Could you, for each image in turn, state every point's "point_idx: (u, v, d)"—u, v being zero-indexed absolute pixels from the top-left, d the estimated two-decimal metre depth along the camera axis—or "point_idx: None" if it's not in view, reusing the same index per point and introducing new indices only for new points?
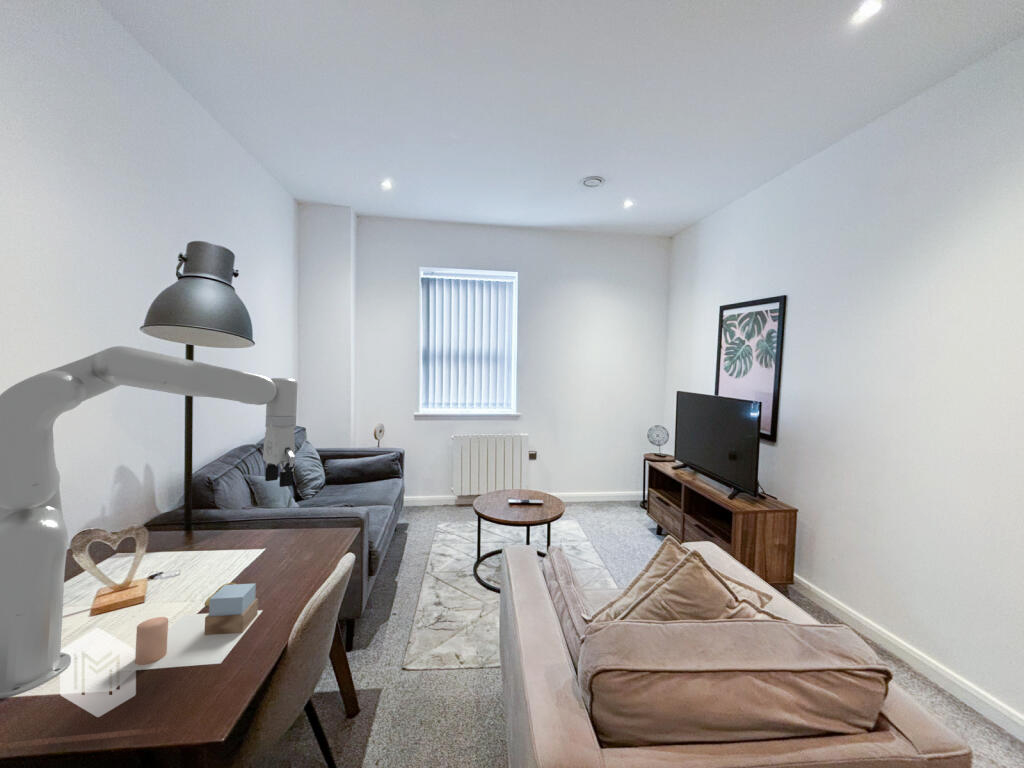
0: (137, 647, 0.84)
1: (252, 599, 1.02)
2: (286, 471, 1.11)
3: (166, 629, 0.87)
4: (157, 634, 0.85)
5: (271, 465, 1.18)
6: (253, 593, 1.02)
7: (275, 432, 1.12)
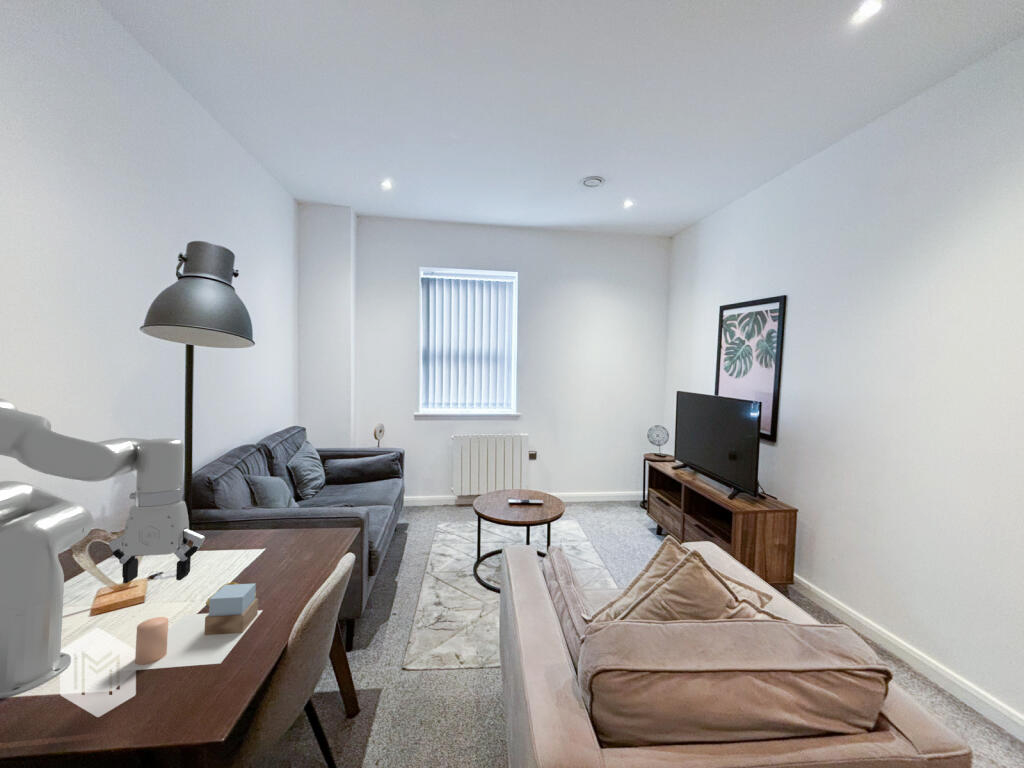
0: (137, 647, 0.84)
1: (252, 599, 1.02)
2: (188, 558, 0.88)
3: (166, 629, 0.87)
4: (157, 634, 0.85)
5: (131, 559, 0.86)
6: (253, 593, 1.02)
7: (167, 512, 0.85)
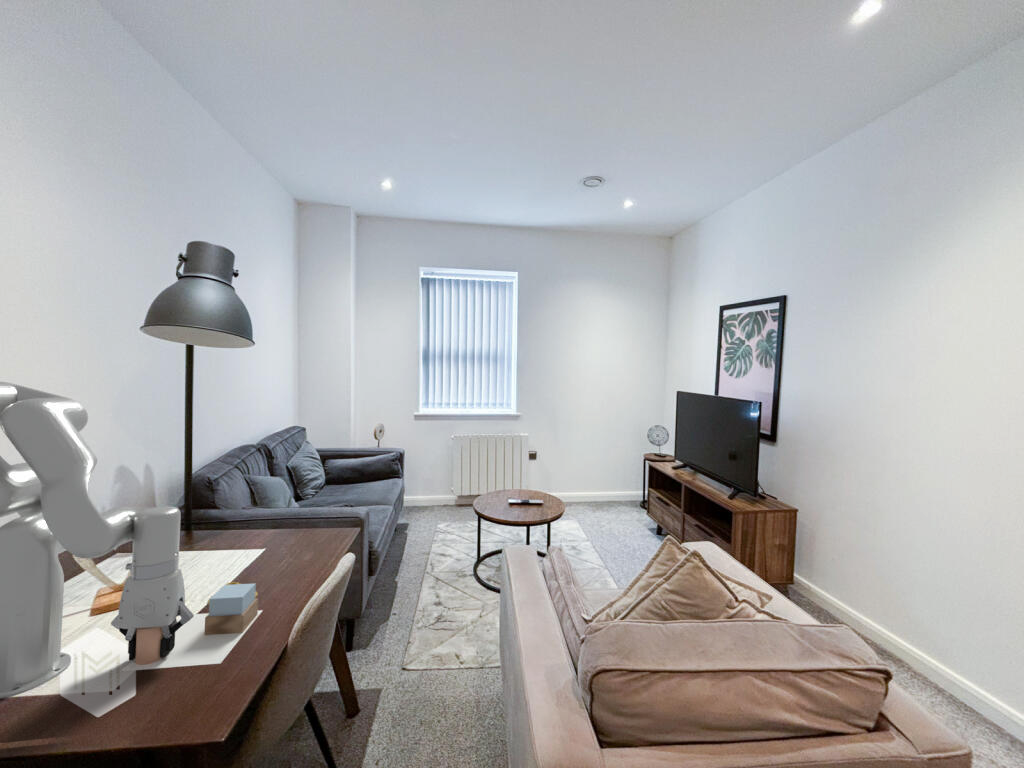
0: (137, 647, 0.84)
1: (252, 599, 1.02)
2: (172, 634, 0.87)
3: None
4: (157, 634, 0.85)
5: None
6: (253, 593, 1.02)
7: (163, 584, 0.85)
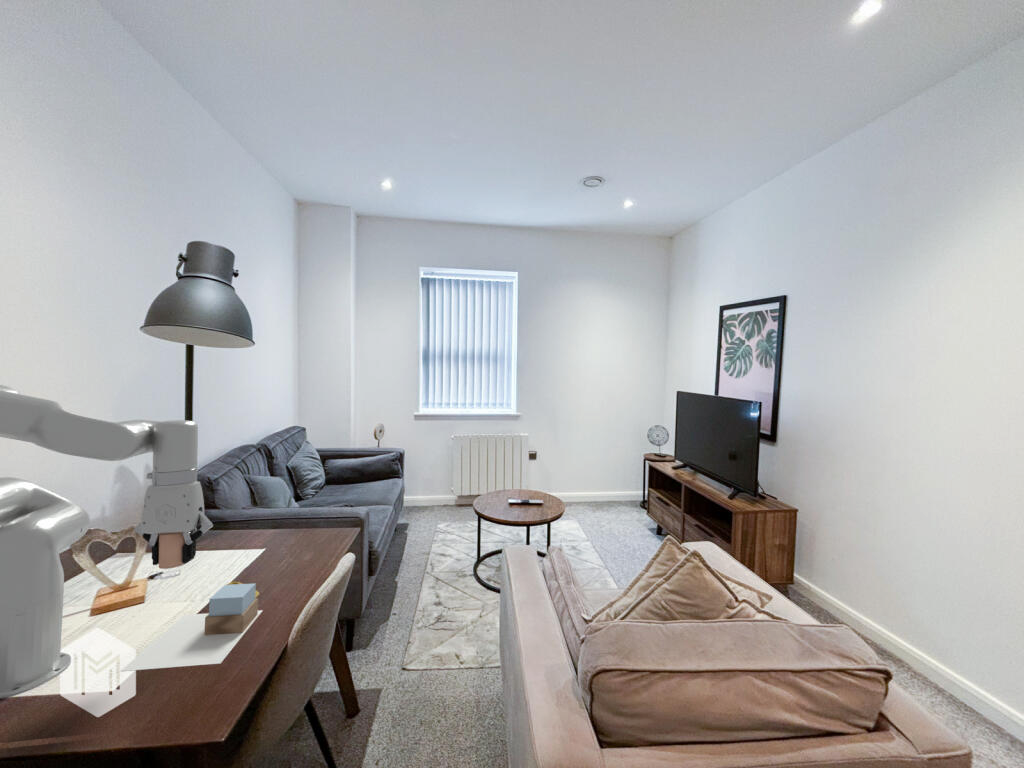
0: (160, 552, 0.87)
1: (252, 599, 1.02)
2: (193, 542, 0.89)
3: None
4: (178, 540, 0.88)
5: None
6: (253, 593, 1.02)
7: (183, 491, 0.87)
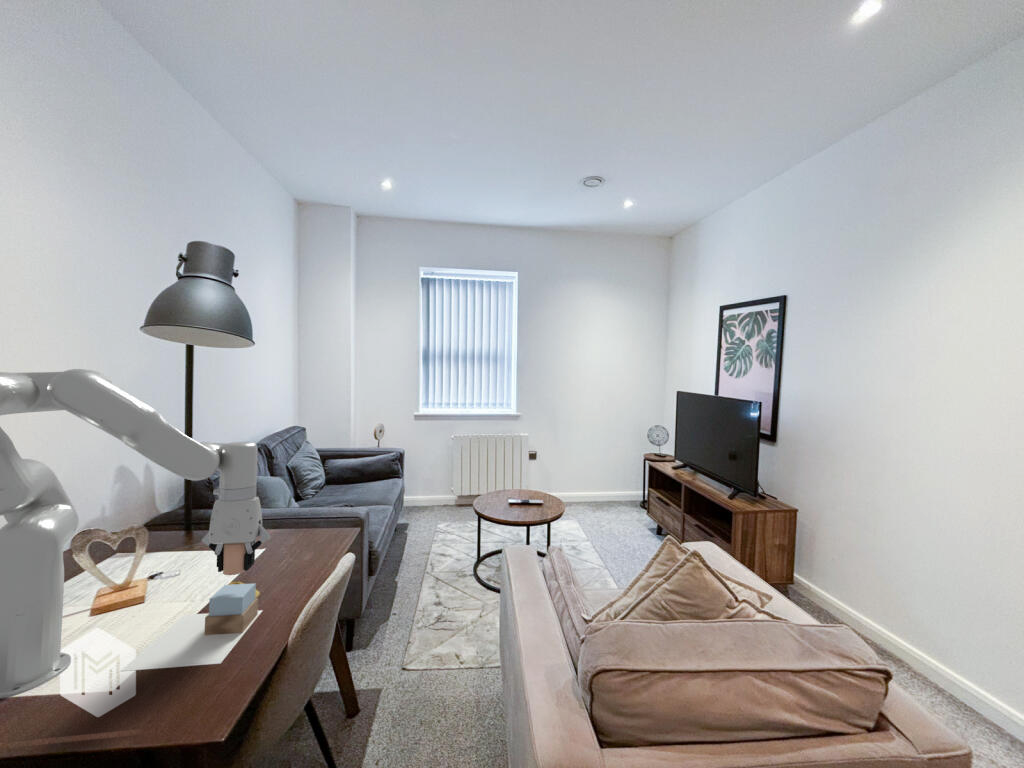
0: (225, 560, 0.97)
1: (252, 599, 1.02)
2: (253, 551, 1.00)
3: None
4: (241, 550, 0.98)
5: (223, 551, 0.99)
6: (253, 593, 1.02)
7: (246, 506, 0.98)
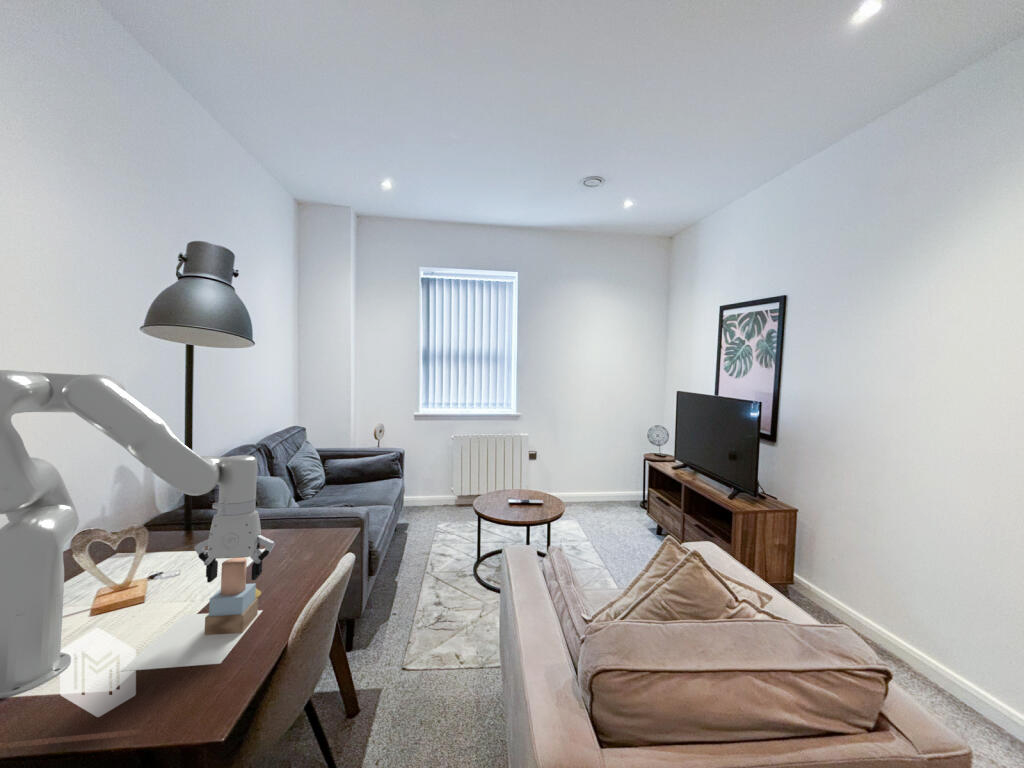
0: (223, 581, 0.97)
1: (252, 599, 1.02)
2: (261, 561, 1.00)
3: (245, 567, 1.00)
4: (239, 570, 0.98)
5: (213, 561, 0.98)
6: (253, 593, 1.02)
7: (245, 520, 0.98)
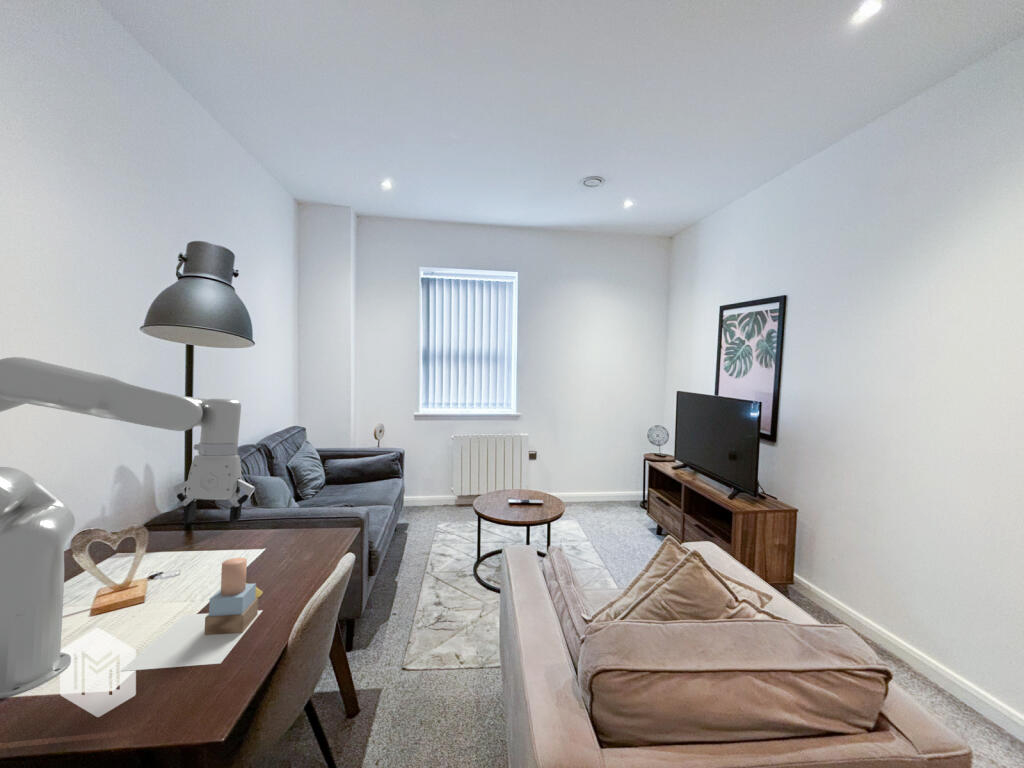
0: (223, 581, 0.97)
1: (252, 599, 1.02)
2: (240, 505, 0.99)
3: (245, 567, 1.00)
4: (239, 570, 0.98)
5: (191, 503, 0.98)
6: (253, 593, 1.02)
7: (225, 462, 0.97)
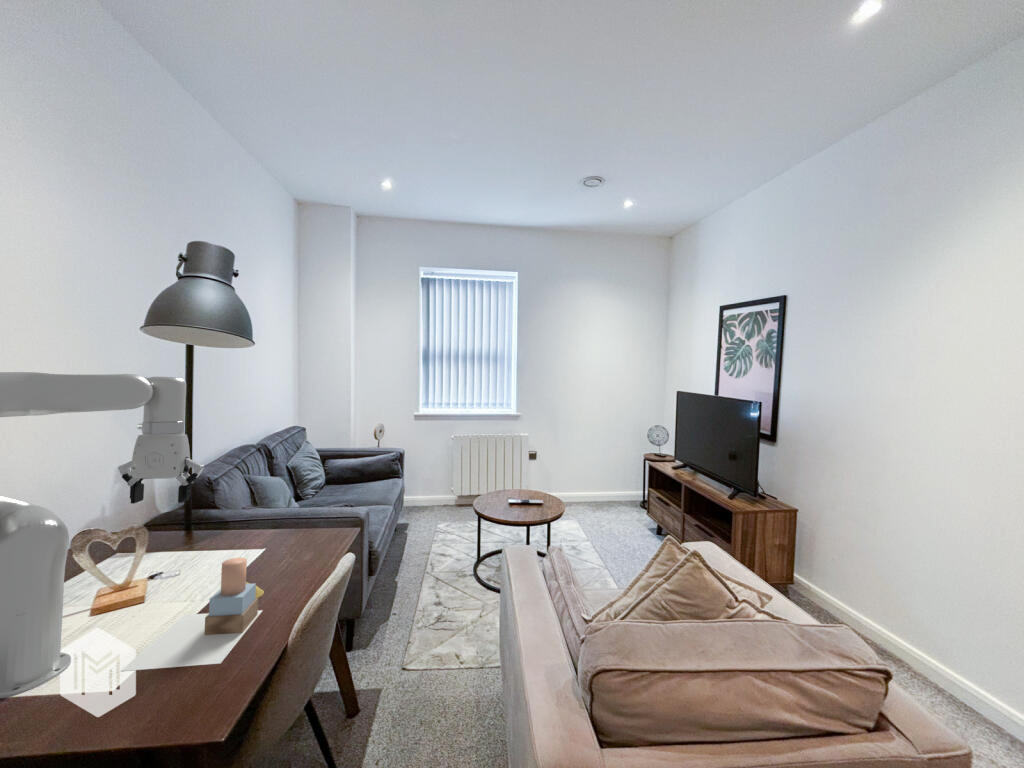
0: (223, 581, 0.97)
1: (252, 599, 1.02)
2: (188, 483, 0.98)
3: (245, 567, 1.00)
4: (239, 570, 0.98)
5: (137, 483, 0.96)
6: (253, 593, 1.02)
7: (171, 440, 0.95)
